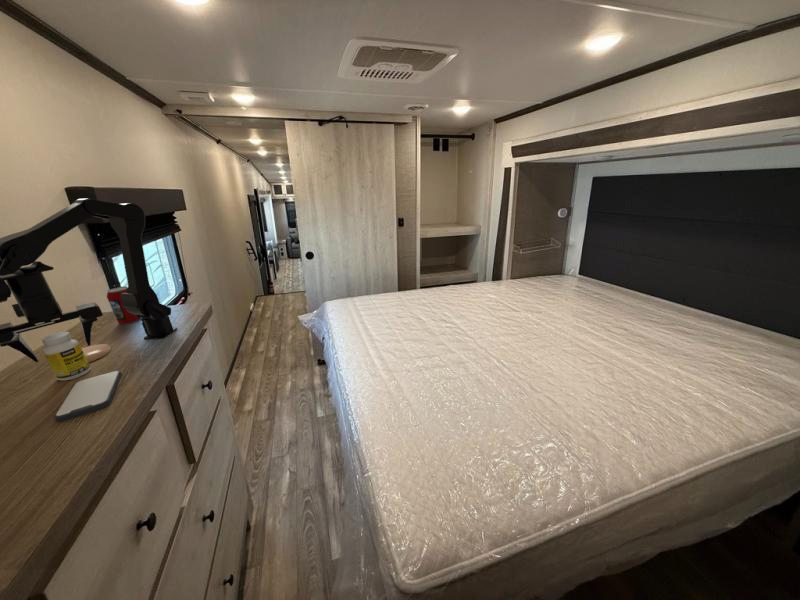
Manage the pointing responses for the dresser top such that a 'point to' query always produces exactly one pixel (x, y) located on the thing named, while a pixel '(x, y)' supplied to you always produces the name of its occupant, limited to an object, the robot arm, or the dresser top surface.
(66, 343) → the pill bottle
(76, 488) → the dresser top surface
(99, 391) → the phone case
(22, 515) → the dresser top surface
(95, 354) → the tan round disc
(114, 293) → the beverage can
